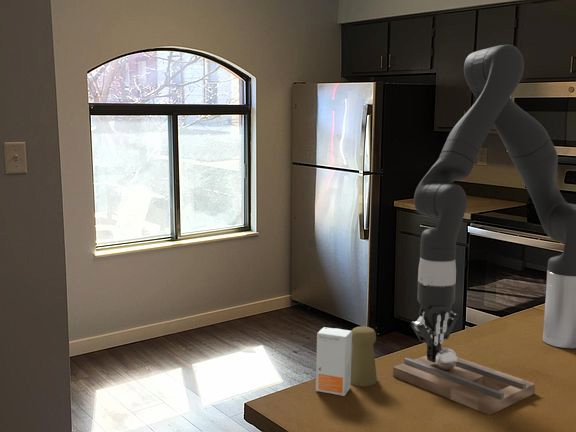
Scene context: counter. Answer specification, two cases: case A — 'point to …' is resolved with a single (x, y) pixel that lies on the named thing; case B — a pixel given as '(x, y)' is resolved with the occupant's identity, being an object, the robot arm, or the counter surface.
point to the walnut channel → (466, 383)
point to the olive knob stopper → (363, 357)
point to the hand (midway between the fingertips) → (433, 360)
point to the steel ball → (446, 358)
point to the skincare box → (333, 361)
